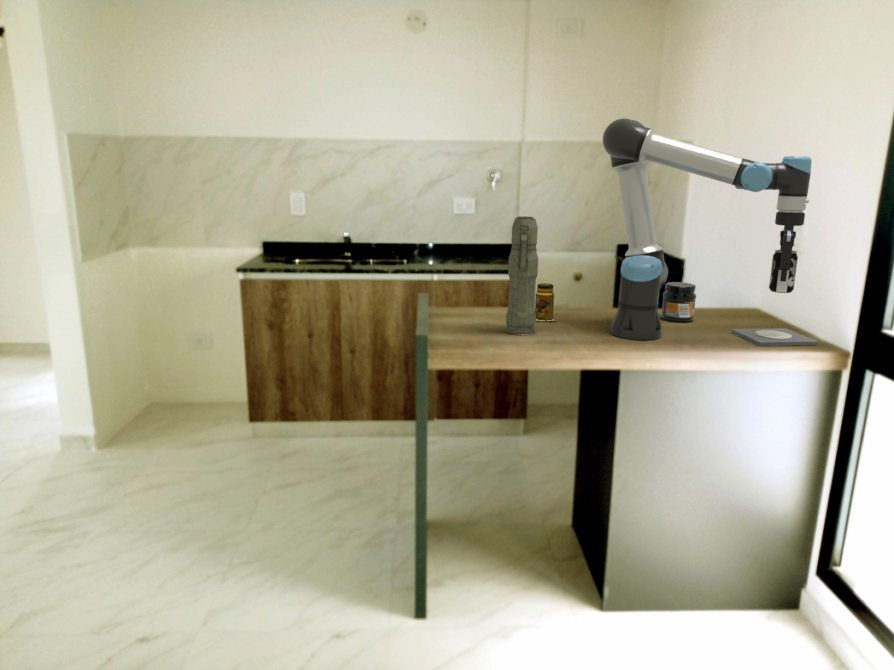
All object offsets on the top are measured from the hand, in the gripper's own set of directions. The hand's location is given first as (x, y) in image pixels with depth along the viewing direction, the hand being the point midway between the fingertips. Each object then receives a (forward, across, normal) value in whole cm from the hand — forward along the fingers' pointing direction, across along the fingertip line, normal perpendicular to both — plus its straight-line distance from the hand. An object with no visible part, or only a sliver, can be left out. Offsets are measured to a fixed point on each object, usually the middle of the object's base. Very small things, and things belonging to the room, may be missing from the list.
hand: (780, 289), depth 201 cm
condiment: (+15, -6, +70) cm, 72 cm away
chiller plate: (+15, 0, 0) cm, 15 cm away
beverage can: (+1, 0, 0) cm, 1 cm away
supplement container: (+15, +14, +30) cm, 36 cm away
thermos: (+15, -26, +72) cm, 78 cm away
